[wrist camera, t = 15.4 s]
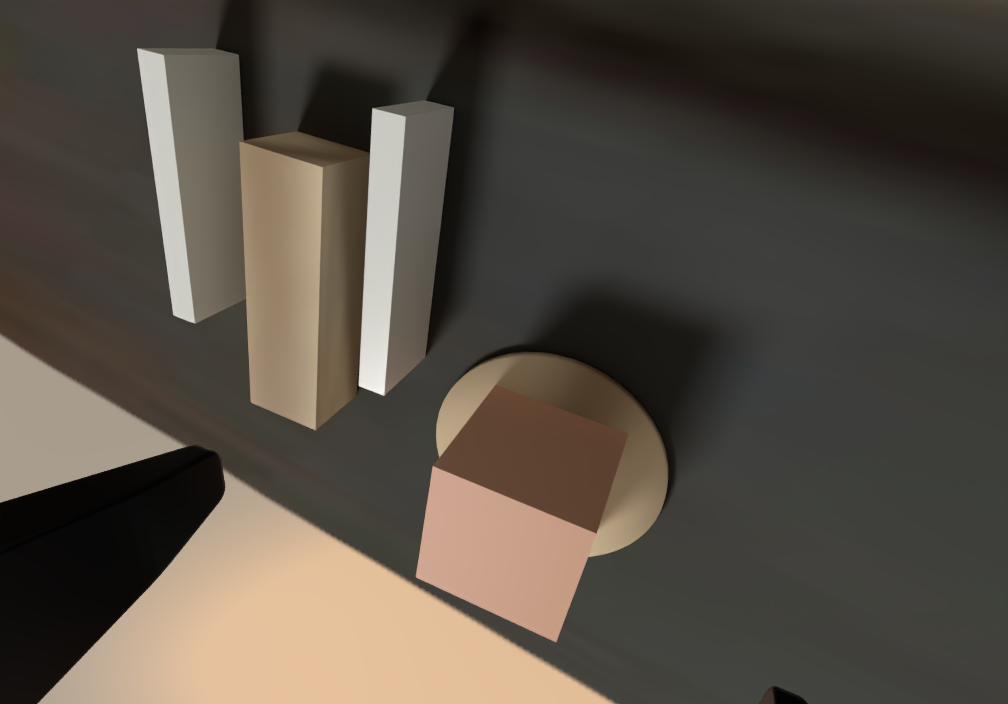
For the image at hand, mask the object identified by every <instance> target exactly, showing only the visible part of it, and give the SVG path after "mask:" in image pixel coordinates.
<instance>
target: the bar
mask: <svg viewBox="0 0 1008 704" xmlns="http://www.w3.org/2000/svg"><path fill="white" fill-rule="evenodd" d="M239 145H240V167H241V190H242V212H243V235H244V257H245V280H246V302H247V325H248V347H249V370H250V392H251V403H253V404H256V405H258V406H260V407H263V408H265V409H267V410H270V411H272V412H274V413H277V414H279V415H281V416H284V417H286V418H288V419H291V420H293V421H295V422H297V423H300V424H302V425H304V426H307V427H309V428H311V429H314V430H317V429H318V428H319V427H320V426H321V425H322V424H324V423H325V422H326V421H327V420H328V419H329V418H330V417H332V416H333V415H334V414H335V413H336V412H337V411H339V410H340V409H341V408H342V407H343V406H344V405H346V404H347V403H348V402H349V401H350V400H351V399H353V398H354V397H355V396H356V395H357V380H358V366H359V352H360V337H361V323H362V308H363V289H364V269H365V248H366V228H367V208H368V188H369V168H370V153H368V152H365V151H361V150H358V149H355V148H351V147H348V146H345V145H341V144H338V143H335V142H331V141H328V140H325V139H321V138H318V137H315V136H311V135H308V134H305V133H301V132H298V131H296V132H291V133H285V134H279V135H273V136H267V137H261V138H255V139H250V140H244V141H239Z"/></svg>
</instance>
